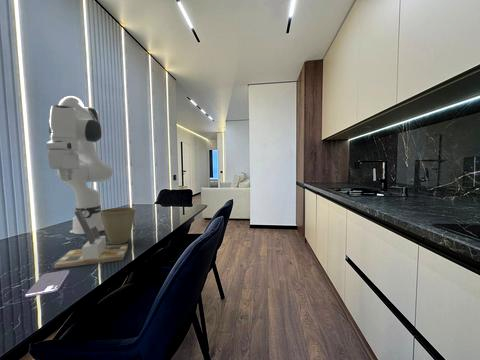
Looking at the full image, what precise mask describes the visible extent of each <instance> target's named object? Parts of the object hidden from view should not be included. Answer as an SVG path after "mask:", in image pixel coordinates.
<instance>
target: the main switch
mask: <svg viewBox="0 0 480 360" xmlns="http://www.w3.org/2000/svg"><path fill="white" fill-rule="evenodd" d="M74 215H75V216H77V218H78V220H79V222H80V224H81V226H82V228H83V230H84V232H85V234H84V235H85V236H86V238H87V242H88V241H89V244H93V242H94V241H95V240H96V239H95V238H94V235H93V233H92V232H91V230H90V228H89V226H88V224H87V221H86V219H85V217H84V215H83V213H82V211H81V210H78V211H76V212H75V211H74Z"/></svg>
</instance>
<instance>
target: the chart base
mask: <svg viewBox="0 0 480 360" xmlns="http://www.w3.org/2000/svg"><path fill="white" fill-rule="evenodd" d="M128 248H129V244H128V243H124V244H118V245H108V246H107V245H106V248H105V249H104V251H103V252H102V254H101V255H100V256H99V258H97V259H88V260H83V256H82V248H81V249H79V248H78V249H71V250H69V251H68V252H67V253H66V254H64V255H63V256H62V257H61V258H59V259H58V260H57V261H56V263H54V265H53V267H54V269H55V270H56V269H60V268H61V269H63V268H70V267H77V266H87V265H93V264H95V265H96V264H103V263H109V262H117V261H118V262H119V261H123V260H124V257H125V256H126V253H127V251H128Z"/></svg>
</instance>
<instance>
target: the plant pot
mask: <svg viewBox="0 0 480 360" xmlns="http://www.w3.org/2000/svg"><path fill="white" fill-rule="evenodd" d="M100 214H101V219H102V223H103V226H104V229H105V230H104V233H105V236H106V238H107V239H108V241H109V243H110V245H111V246H115V245H124V244H127V242H128V241H129V238H130V236H131V233H132V229H133V225H134V222H135V221H134V219H135V214H136V208H135V207H123V206H122V207H112V208H106V209H101V211H100Z"/></svg>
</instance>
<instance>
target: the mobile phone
mask: <svg viewBox="0 0 480 360" xmlns="http://www.w3.org/2000/svg"><path fill="white" fill-rule="evenodd" d="M69 273H70V270H69V269H65V270H60V271H59V270H58V271H52V272H47V273H43V274H42V275H41V276H40V277H39V278H38V279H37V280H36V282H35V283H34V284H33V285H32V286H31V287H30V288H29V290H28V291H27V292H26V293H25V295H24V297H25V298H29V297H35V296H39V295H46V294H50V293H55V292H56V291H58V290H59V289H60V287H61V286H62V284H63V283H64V281H65V279H66V278H67V276H68V274H69Z"/></svg>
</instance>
